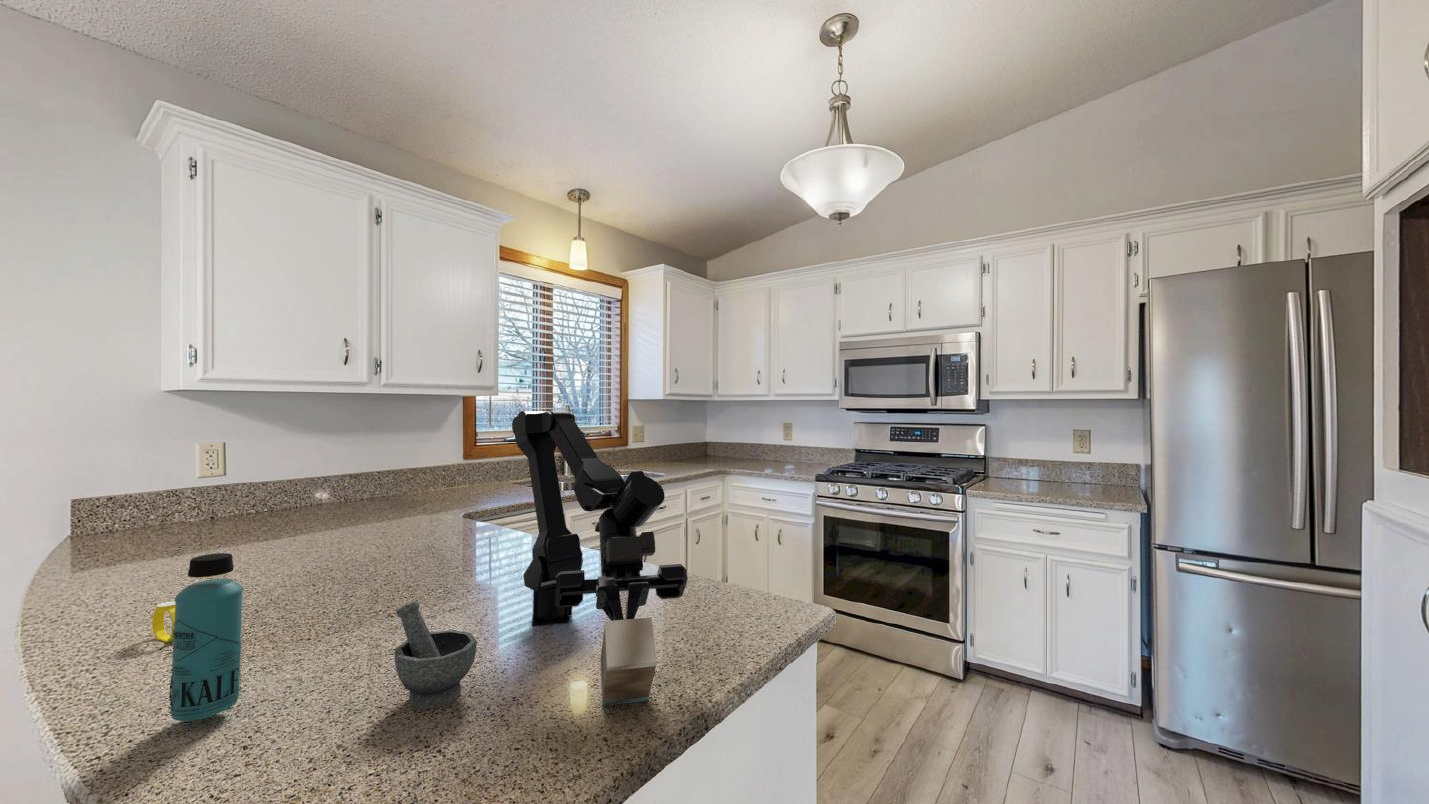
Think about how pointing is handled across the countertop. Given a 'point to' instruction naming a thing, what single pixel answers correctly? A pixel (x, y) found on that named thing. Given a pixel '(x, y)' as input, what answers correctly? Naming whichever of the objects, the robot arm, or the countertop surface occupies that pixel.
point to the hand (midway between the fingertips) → (625, 642)
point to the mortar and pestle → (432, 660)
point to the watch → (159, 621)
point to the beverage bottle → (206, 641)
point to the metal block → (627, 661)
